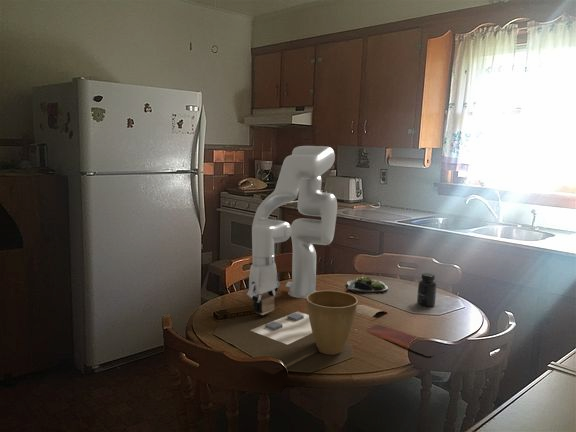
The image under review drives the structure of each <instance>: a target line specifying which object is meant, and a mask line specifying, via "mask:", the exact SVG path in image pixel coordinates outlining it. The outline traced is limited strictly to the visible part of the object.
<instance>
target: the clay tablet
mask: <svg viewBox="0 0 576 432" xmlns="http://www.w3.org/2000/svg"><path fill="white" fill-rule="evenodd" d="M379 312H383V313H386V314H388V312H387V311H384V310H381V309H378V308H375V307H371V306H369V305H366V304H357V307H356V312H355V314H356V313H357V314H360V315H363V316H366V317H369V318H373V317H374V316H375V315H376V314H377V313H379Z"/></svg>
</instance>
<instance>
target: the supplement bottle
mask: <svg viewBox="0 0 576 432" xmlns="http://www.w3.org/2000/svg"><path fill="white" fill-rule="evenodd" d="M435 280H436V279H435V274H433V273H431V272H430V273H429V272H423V273H421V277H420V280H418V283H417V284H418V285H417V297H416V304H417V305H418V306H420V305H421V307H424V306H425V308H431V307H432V308H433V307H434V306H435V305H436V297H437V282H436V281H435Z"/></svg>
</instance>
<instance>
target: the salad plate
mask: <svg viewBox="0 0 576 432" xmlns="http://www.w3.org/2000/svg"><path fill="white" fill-rule="evenodd" d="M346 284H347V289H348V290H350V291H352V292H353V293H357V294H362V293H380V294H385V293H386V292H387V291H388V290H389V287H388V286H387V285H386V283H384V282H383V281H381V280H378V279H377V280H376V279H372V278H370V277H369V276H366V277H363V276H360V277H356V279H351V280H349V281H347V282H346ZM384 292H385V293H384Z"/></svg>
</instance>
